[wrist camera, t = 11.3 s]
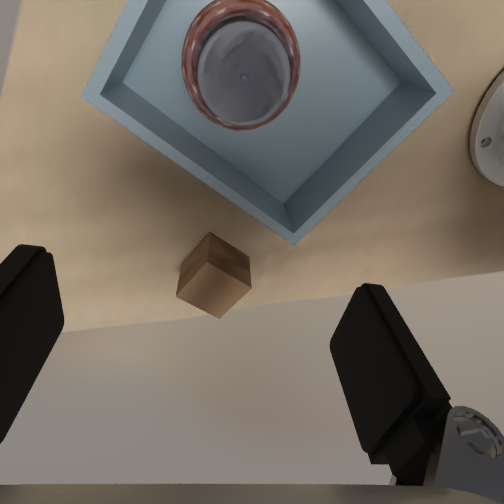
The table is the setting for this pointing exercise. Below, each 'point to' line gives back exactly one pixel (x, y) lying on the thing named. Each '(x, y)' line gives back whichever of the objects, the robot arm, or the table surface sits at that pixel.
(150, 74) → the tote
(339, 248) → the table surface
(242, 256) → the walnut cube
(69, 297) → the table surface
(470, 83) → the table surface
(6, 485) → the robot arm
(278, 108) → the supplement bottle
